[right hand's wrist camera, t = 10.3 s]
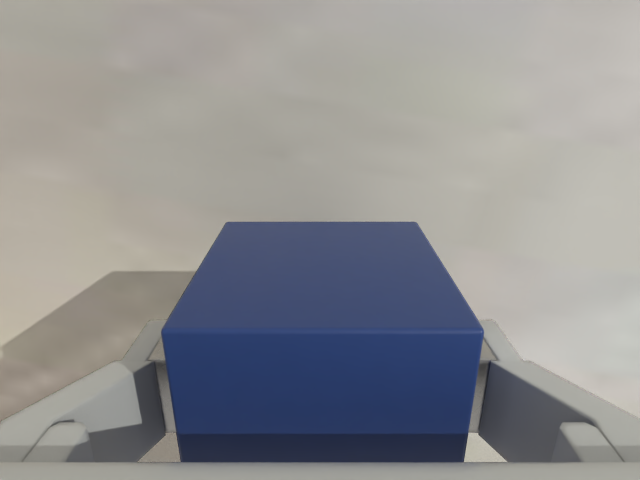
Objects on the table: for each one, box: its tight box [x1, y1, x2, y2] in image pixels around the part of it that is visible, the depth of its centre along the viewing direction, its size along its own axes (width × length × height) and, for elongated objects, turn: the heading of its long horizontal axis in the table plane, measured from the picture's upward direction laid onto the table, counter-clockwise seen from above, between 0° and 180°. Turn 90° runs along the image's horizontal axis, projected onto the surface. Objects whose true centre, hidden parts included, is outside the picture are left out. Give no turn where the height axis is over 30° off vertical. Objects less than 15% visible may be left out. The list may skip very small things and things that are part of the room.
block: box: [161, 222, 484, 462], centre depth 10 cm, size 5×5×5 cm
